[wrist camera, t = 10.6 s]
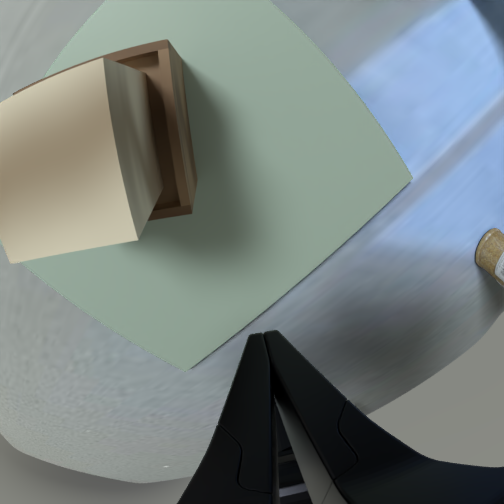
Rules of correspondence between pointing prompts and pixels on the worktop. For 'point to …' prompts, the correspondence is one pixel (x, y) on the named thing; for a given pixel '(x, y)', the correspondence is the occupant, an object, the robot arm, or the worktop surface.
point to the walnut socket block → (163, 122)
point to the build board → (231, 176)
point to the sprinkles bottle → (492, 254)
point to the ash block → (77, 162)
